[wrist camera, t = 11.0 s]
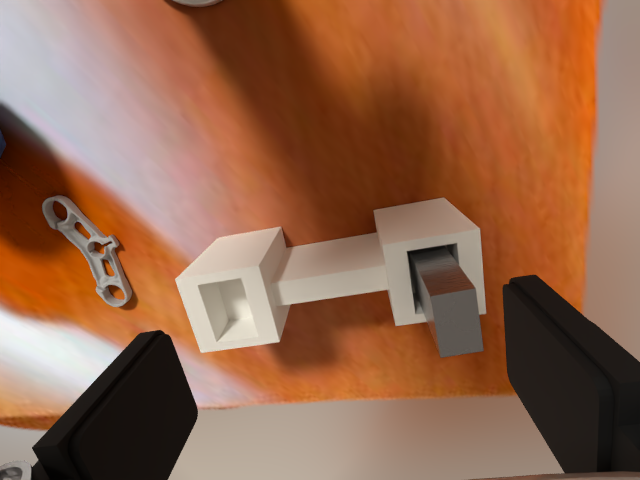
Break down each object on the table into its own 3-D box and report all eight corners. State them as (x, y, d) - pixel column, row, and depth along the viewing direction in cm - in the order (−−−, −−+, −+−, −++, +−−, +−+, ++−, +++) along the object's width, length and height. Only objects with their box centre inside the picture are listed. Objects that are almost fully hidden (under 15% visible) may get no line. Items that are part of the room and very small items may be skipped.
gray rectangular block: (405, 242, 36) (430, 296, 25) (437, 236, 35) (475, 288, 25) (414, 288, 37) (440, 357, 27) (444, 283, 37) (483, 350, 26)
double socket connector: (217, 237, 45) (175, 279, 34) (444, 197, 42) (480, 228, 31) (235, 295, 48) (201, 352, 36) (450, 262, 44) (486, 313, 33)
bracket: (81, 311, 49) (34, 200, 44) (90, 303, 50) (47, 196, 45) (134, 305, 48) (93, 191, 43) (142, 298, 50) (103, 188, 45)
